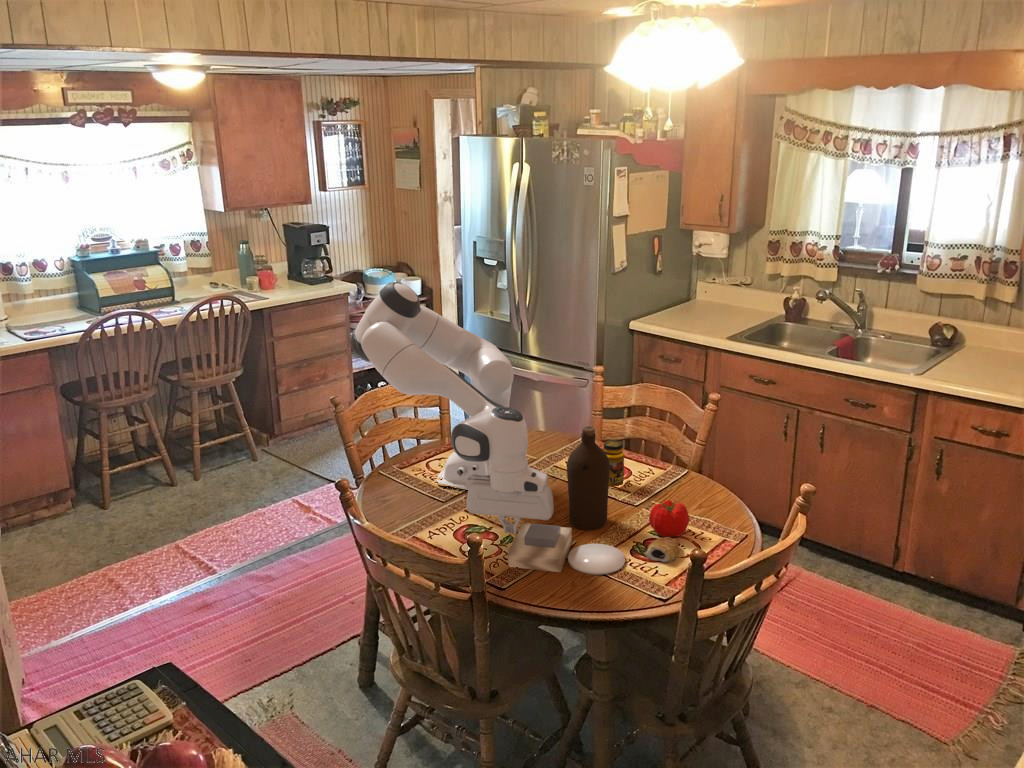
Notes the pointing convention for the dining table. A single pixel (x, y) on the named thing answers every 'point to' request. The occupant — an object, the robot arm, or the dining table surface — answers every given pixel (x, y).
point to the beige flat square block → (539, 552)
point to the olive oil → (588, 483)
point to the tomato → (669, 519)
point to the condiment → (615, 462)
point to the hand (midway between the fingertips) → (510, 532)
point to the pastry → (663, 549)
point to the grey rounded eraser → (542, 535)
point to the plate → (596, 559)
